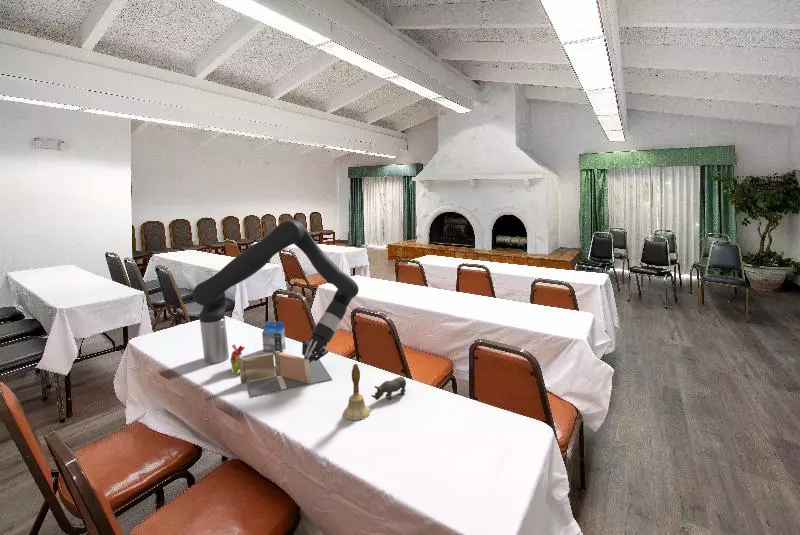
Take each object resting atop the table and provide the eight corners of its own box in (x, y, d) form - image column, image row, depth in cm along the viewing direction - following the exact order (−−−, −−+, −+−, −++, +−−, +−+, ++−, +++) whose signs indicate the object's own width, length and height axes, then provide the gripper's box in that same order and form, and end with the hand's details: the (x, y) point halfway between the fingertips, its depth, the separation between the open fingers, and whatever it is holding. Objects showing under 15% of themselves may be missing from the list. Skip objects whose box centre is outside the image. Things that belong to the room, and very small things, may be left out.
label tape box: (263, 351, 174) (260, 324, 171) (267, 347, 178) (265, 321, 175) (282, 352, 172) (279, 325, 170) (286, 348, 176) (284, 321, 174)
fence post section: (240, 381, 145) (238, 357, 144) (281, 373, 151) (279, 350, 149) (241, 383, 144) (238, 359, 142) (282, 375, 149) (280, 352, 148)
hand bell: (355, 403, 130) (353, 357, 127) (375, 411, 125) (374, 363, 122) (337, 415, 123) (335, 366, 120) (358, 423, 119) (356, 373, 116)
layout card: (246, 372, 154) (245, 371, 153) (318, 358, 165) (318, 357, 165) (250, 397, 135) (250, 396, 135) (332, 380, 146) (332, 378, 146)
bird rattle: (226, 377, 155) (235, 374, 148) (219, 349, 156) (227, 345, 150) (242, 371, 159) (251, 369, 153) (235, 344, 160) (244, 341, 154)
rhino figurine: (368, 400, 132) (367, 383, 130) (403, 389, 139) (402, 372, 138) (374, 406, 128) (373, 388, 127) (409, 393, 136) (409, 377, 134)
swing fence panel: (283, 374, 150) (282, 352, 148) (311, 381, 143) (310, 359, 142) (280, 375, 148) (278, 354, 147) (308, 384, 142) (306, 361, 140)
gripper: (309, 318, 153) (284, 359, 147) (332, 325, 145) (307, 369, 138) (321, 328, 158) (298, 368, 152) (344, 335, 150) (320, 378, 143)
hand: (302, 368), depth 145 cm, fingers closed
